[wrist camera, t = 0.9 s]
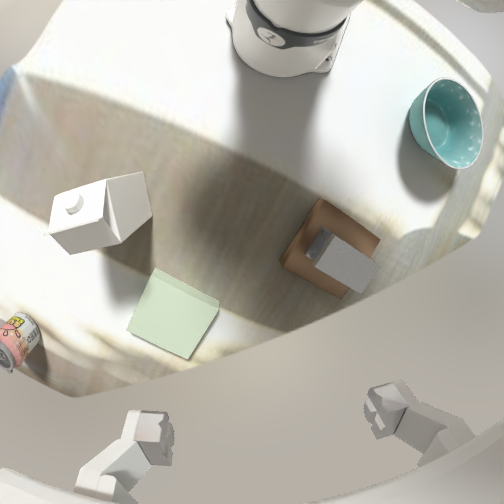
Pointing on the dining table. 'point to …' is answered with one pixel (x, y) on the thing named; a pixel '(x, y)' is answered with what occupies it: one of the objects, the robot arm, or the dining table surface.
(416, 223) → the dining table surface
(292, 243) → the stand
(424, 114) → the bowl
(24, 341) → the beverage can
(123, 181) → the milk carton
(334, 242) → the block
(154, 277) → the stand
